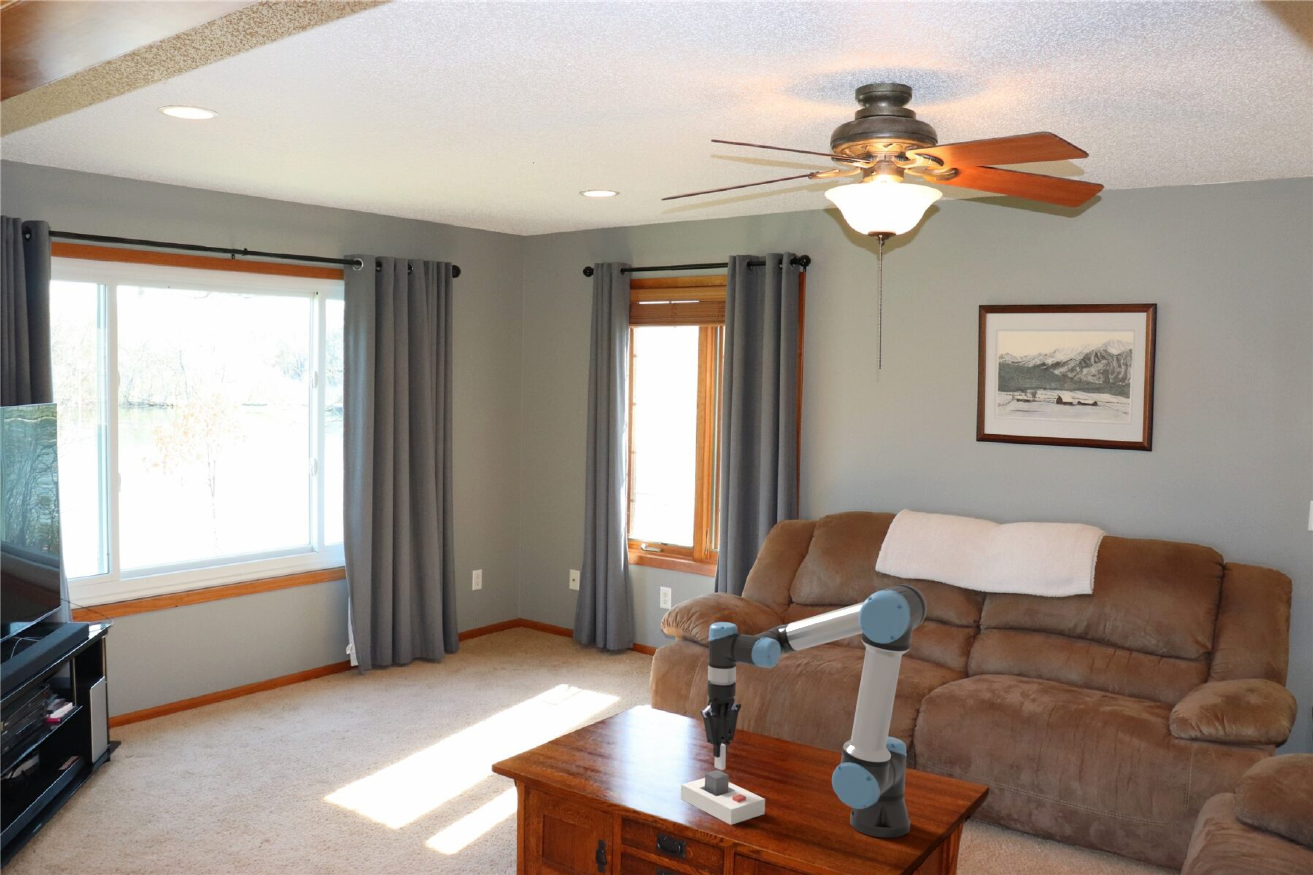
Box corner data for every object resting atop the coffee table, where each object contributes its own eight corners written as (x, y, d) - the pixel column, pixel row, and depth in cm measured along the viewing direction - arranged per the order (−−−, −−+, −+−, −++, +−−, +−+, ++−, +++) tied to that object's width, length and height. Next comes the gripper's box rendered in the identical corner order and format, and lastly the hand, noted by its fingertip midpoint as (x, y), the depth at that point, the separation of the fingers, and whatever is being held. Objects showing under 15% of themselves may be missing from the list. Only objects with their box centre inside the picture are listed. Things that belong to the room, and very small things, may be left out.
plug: (727, 804, 280) (728, 774, 280) (715, 807, 277) (716, 778, 277) (716, 798, 284) (717, 769, 283) (704, 802, 281) (705, 773, 280)
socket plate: (764, 813, 274) (765, 795, 274) (730, 824, 267) (731, 806, 267) (714, 789, 290) (714, 772, 290) (680, 798, 282) (681, 781, 282)
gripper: (730, 674, 286) (728, 758, 287) (694, 681, 277) (692, 768, 278) (749, 680, 280) (747, 766, 281) (712, 688, 272) (711, 777, 273)
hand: (719, 767), depth 280 cm, fingers closed
